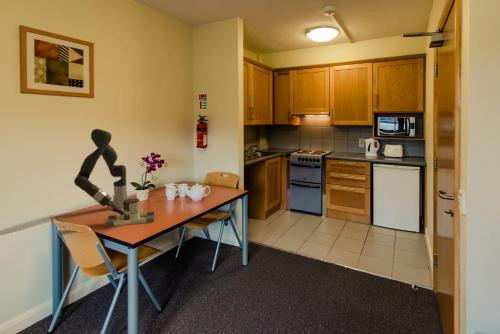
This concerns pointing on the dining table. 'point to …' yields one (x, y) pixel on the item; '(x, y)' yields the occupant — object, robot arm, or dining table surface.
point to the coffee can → (131, 209)
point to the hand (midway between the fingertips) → (123, 214)
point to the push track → (113, 221)
